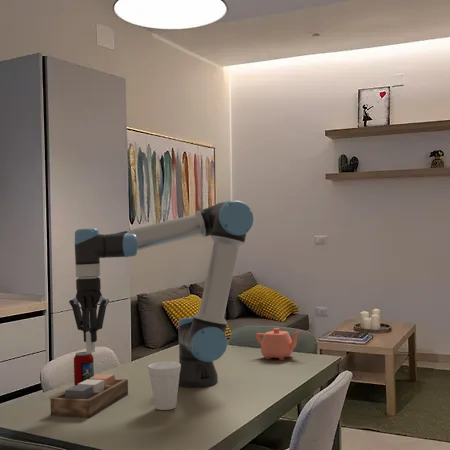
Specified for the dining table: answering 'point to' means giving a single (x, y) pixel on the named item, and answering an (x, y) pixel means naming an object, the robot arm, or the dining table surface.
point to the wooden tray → (89, 401)
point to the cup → (165, 383)
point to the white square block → (94, 384)
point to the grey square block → (79, 392)
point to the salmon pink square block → (105, 379)
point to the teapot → (277, 343)
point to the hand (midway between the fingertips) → (90, 352)
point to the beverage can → (83, 367)
